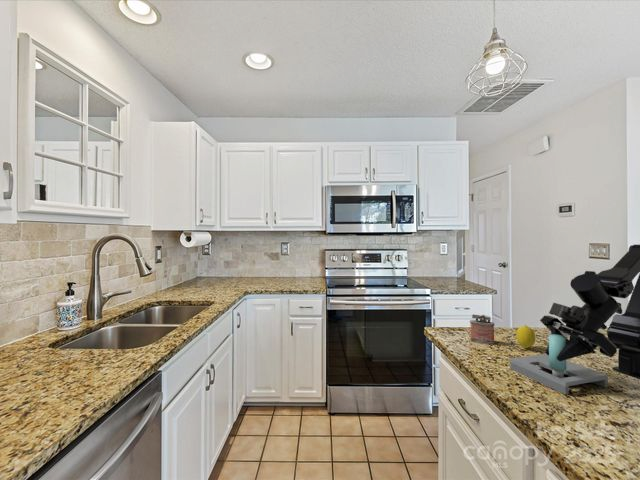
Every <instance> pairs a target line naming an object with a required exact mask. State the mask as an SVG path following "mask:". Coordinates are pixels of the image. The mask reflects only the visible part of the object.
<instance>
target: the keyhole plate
mask: <svg viewBox="0 0 640 480" xmlns="http://www.w3.org/2000/svg"><path fill="white" fill-rule="evenodd" d="M566 365H567V370H564V375H567V376H568V377H565V378H558V377H556V376H553V375H552V373H549V372H546V371H544V370H543V368H545V369H548V370H550V371H552V368H551V367H549V356H548V355H547V354H546V353H541V354H534V355H526V356H519V357H513V358H510V363H509V366H510V367H509V368H510V370H513V371H514V372H516V373H518V374H521V375H522V376H525V377H527V378H528V379H529V378H530V379H531V380H533V381H535V382H537V383H539V384H542V385H544V386H546V387H548V388H550V389H552V390H554V391H557V392H558V393H561V394H563V395H565V396H566V395H569V393H570V391H569V388H570V387H571V386H576V385H581V384H587V383H593V384H595V385H597V386H600V387H603V388H608V387H609V384H608V383H609V381H608V379H609V378H608V374H605V373H603V372H600V371H597V370H594V369H592V368H589V367H586V366H584V365H580V364H578V363H576V362H572V361H570V360H568V359H567V360H566Z"/></svg>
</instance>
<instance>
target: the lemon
mask: <svg viewBox="0 0 640 480" xmlns="http://www.w3.org/2000/svg"><path fill="white" fill-rule="evenodd" d="M515 335H516V336H515V337H516V341H517V343H518V344H519V345H520V346H522V347H523V348H524V349H529V348H531V347H533V346H534V345H535V343H536V334H535V331H534V330H533V329H532V328H531V327H529V326H528V325H527V324H526V325H525V324H524V325H522V326H520V327H519V328H518V329H517V330H516V334H515Z"/></svg>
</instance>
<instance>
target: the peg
mask: <svg viewBox="0 0 640 480" xmlns="http://www.w3.org/2000/svg"><path fill="white" fill-rule="evenodd" d="M548 344H549V367H551V368H552V370H551V372H552V373H551V375H553V376H556V377H558V378H566V377H565V376H564V375H565V374H564V370H567V365H566V360H564V361H558V360H557V356H558V355H559V353H560V352H561V351H562V350H563V349H564V347H565V346H566V337H565V336H562V335H556V334H551V333H550V334H548Z"/></svg>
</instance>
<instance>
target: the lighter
mask: <svg viewBox="0 0 640 480" xmlns="http://www.w3.org/2000/svg"><path fill="white" fill-rule="evenodd" d="M471 318H472V319H470V320H469V324H470V337H469V340H470V342H471V343H472V342H473V343H477V344H483V345H495V344H496V343H495V322H493V321H492V318H491V316H489V315H488V316H486V315H485V314H481V315H480V314H471Z"/></svg>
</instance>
